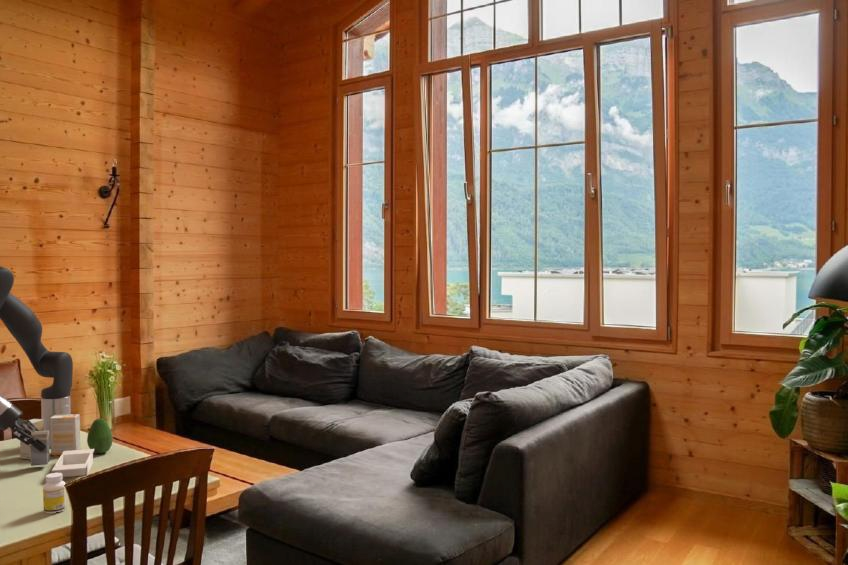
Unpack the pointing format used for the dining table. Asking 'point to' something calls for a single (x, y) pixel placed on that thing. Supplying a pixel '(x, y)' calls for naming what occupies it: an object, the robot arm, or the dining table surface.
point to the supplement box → (65, 433)
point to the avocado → (100, 436)
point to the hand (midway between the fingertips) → (45, 447)
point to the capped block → (36, 455)
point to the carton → (74, 462)
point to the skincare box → (26, 449)
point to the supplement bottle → (54, 493)
